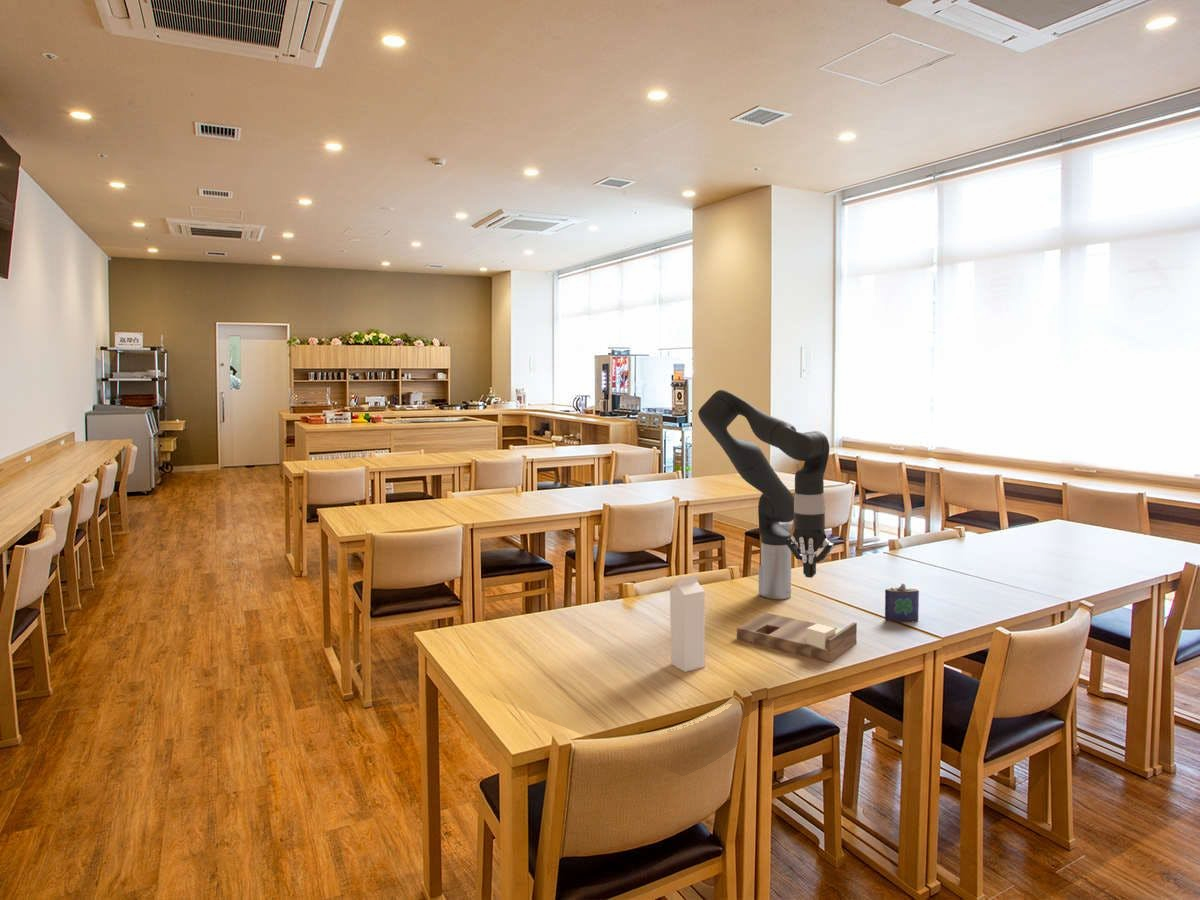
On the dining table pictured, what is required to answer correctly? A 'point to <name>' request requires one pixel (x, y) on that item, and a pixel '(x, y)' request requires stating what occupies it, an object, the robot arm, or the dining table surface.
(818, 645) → the block
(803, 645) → the board
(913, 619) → the flask
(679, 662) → the milk
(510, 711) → the dining table surface
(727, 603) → the dining table surface
